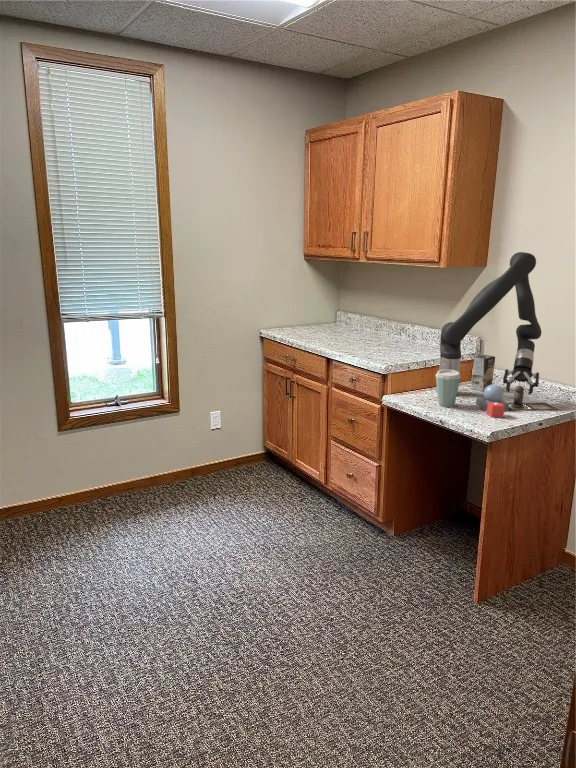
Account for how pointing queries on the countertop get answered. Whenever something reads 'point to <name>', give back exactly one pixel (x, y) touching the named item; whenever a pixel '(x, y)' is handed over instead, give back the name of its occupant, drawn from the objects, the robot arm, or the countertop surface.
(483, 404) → the housing
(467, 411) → the countertop surface
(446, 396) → the disposable coffee cup
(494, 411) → the die
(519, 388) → the pawn
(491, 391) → the pale blue sphere
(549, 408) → the window frame
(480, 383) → the coffee box
